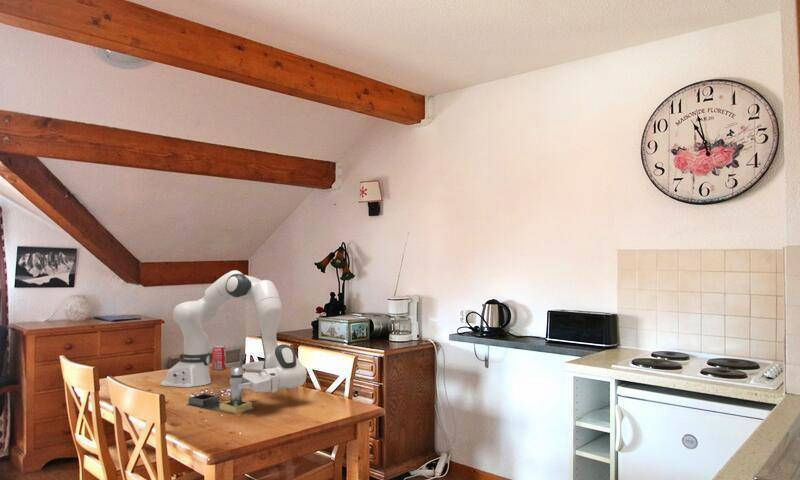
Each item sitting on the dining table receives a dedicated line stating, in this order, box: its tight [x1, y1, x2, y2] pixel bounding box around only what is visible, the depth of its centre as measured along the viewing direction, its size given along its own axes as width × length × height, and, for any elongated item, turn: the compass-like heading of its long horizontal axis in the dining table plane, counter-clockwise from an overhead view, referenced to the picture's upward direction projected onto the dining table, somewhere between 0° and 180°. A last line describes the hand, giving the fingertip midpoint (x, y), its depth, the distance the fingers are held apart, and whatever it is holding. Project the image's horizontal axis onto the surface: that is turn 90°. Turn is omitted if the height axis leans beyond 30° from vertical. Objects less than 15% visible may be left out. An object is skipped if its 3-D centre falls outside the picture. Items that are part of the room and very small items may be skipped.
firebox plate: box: [186, 393, 255, 416], centre depth 224 cm, size 26×11×4 cm, turn 60°
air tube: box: [229, 366, 244, 406], centre depth 220 cm, size 5×5×16 cm
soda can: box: [211, 345, 227, 371], centre depth 302 cm, size 7×7×12 cm
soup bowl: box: [241, 360, 264, 374], centre depth 280 cm, size 24×24×7 cm
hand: (234, 384), depth 220 cm, fingers open, 8 cm apart
